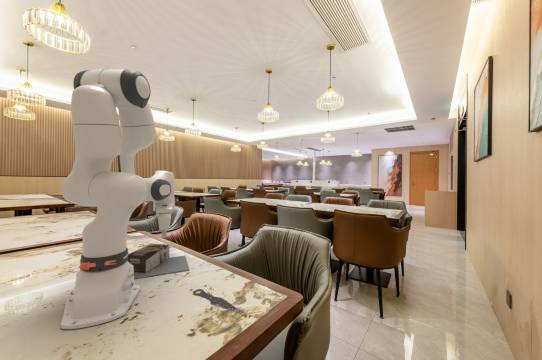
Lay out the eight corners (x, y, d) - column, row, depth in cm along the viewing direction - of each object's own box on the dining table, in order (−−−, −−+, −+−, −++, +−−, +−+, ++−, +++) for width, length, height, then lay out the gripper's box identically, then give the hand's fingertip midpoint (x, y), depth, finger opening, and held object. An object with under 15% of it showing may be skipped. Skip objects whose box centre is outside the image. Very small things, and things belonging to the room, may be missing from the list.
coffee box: (169, 244, 103) (146, 256, 87) (169, 258, 103) (146, 273, 87) (150, 242, 104) (124, 255, 88) (150, 256, 104) (124, 271, 88)
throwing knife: (200, 289, 77) (200, 287, 77) (245, 309, 66) (245, 307, 66) (189, 294, 74) (189, 292, 74) (235, 317, 63) (235, 314, 63)
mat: (189, 270, 91) (189, 269, 91) (131, 279, 82) (131, 278, 82) (185, 256, 106) (185, 255, 106) (135, 262, 97) (135, 262, 97)
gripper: (156, 203, 110) (156, 232, 110) (156, 210, 92) (155, 243, 92) (170, 203, 113) (170, 230, 113) (173, 209, 95) (172, 242, 95)
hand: (163, 236), depth 103 cm, fingers closed
